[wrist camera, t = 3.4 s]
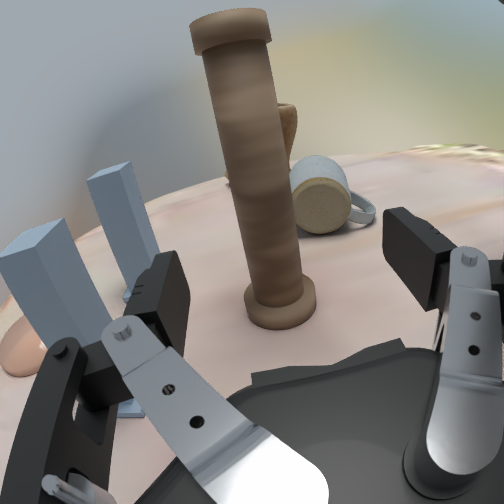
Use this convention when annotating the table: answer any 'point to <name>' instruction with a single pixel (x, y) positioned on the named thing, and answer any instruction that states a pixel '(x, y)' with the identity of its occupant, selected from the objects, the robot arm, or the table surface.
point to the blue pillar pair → (80, 266)
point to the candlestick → (255, 163)
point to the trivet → (21, 349)
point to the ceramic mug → (325, 196)
